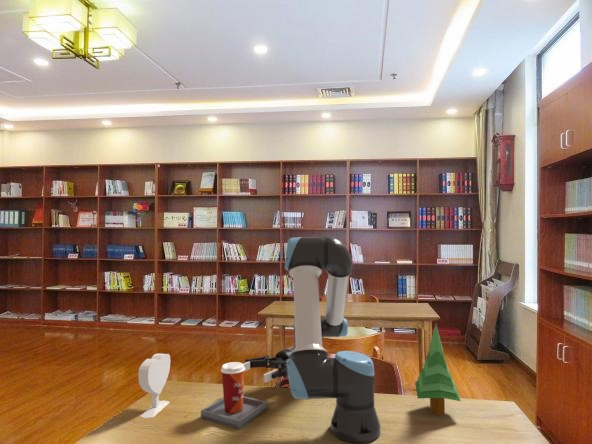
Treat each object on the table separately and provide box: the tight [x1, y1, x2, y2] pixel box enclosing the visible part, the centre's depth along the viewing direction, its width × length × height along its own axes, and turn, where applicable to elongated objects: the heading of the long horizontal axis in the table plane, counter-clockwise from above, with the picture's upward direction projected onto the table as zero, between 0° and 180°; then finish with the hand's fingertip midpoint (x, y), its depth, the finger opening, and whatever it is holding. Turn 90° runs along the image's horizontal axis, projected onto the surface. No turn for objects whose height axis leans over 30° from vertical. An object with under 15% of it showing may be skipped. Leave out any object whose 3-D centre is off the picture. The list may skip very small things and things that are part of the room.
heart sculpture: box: [137, 353, 171, 419], centre depth 141 cm, size 16×5×18 cm, turn 170°
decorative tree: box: [414, 323, 462, 416], centre depth 137 cm, size 14×16×30 cm
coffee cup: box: [220, 361, 245, 414], centre depth 137 cm, size 8×8×15 cm
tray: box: [200, 395, 269, 430], centre depth 137 cm, size 16×16×2 cm
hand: (250, 374), depth 143 cm, fingers open, 13 cm apart
